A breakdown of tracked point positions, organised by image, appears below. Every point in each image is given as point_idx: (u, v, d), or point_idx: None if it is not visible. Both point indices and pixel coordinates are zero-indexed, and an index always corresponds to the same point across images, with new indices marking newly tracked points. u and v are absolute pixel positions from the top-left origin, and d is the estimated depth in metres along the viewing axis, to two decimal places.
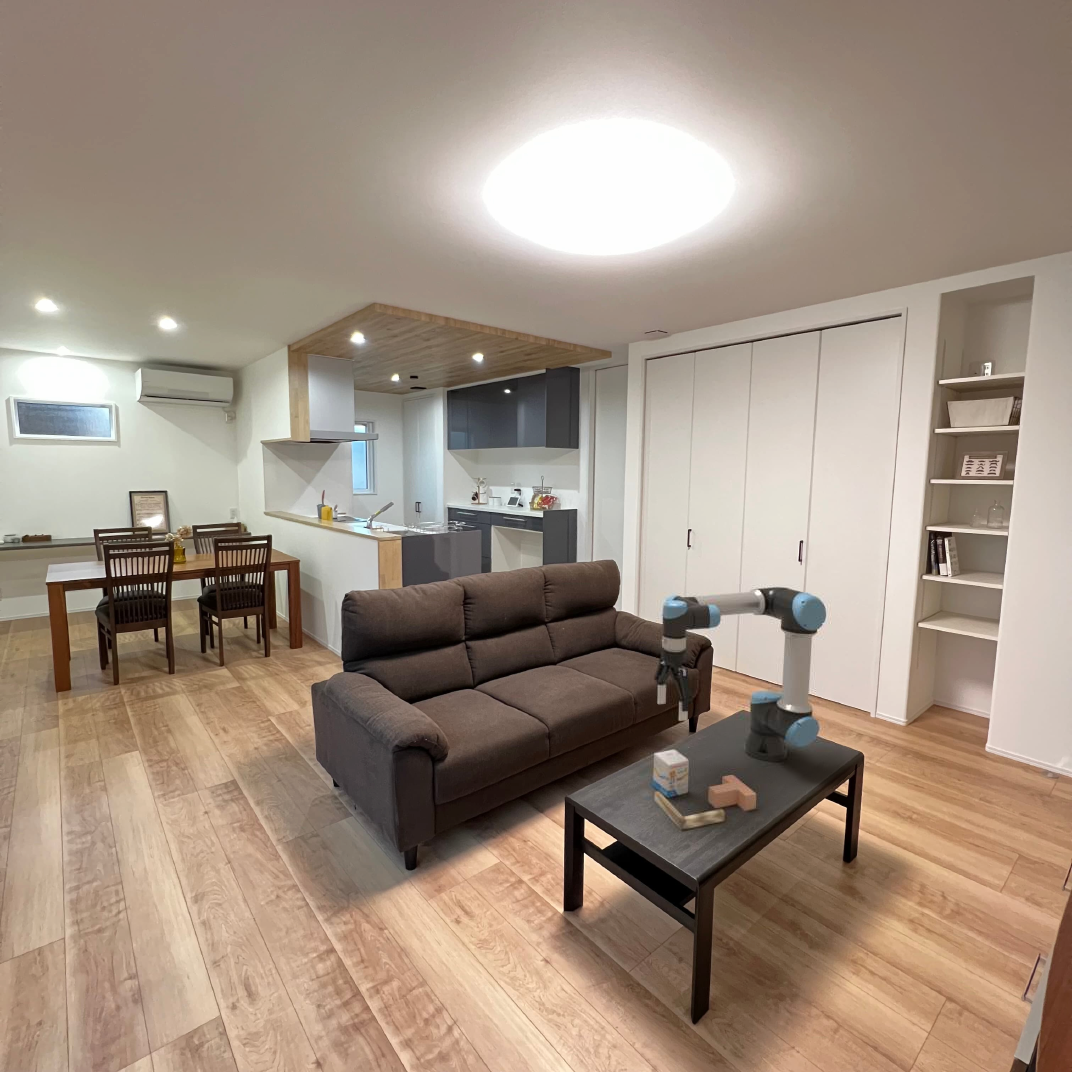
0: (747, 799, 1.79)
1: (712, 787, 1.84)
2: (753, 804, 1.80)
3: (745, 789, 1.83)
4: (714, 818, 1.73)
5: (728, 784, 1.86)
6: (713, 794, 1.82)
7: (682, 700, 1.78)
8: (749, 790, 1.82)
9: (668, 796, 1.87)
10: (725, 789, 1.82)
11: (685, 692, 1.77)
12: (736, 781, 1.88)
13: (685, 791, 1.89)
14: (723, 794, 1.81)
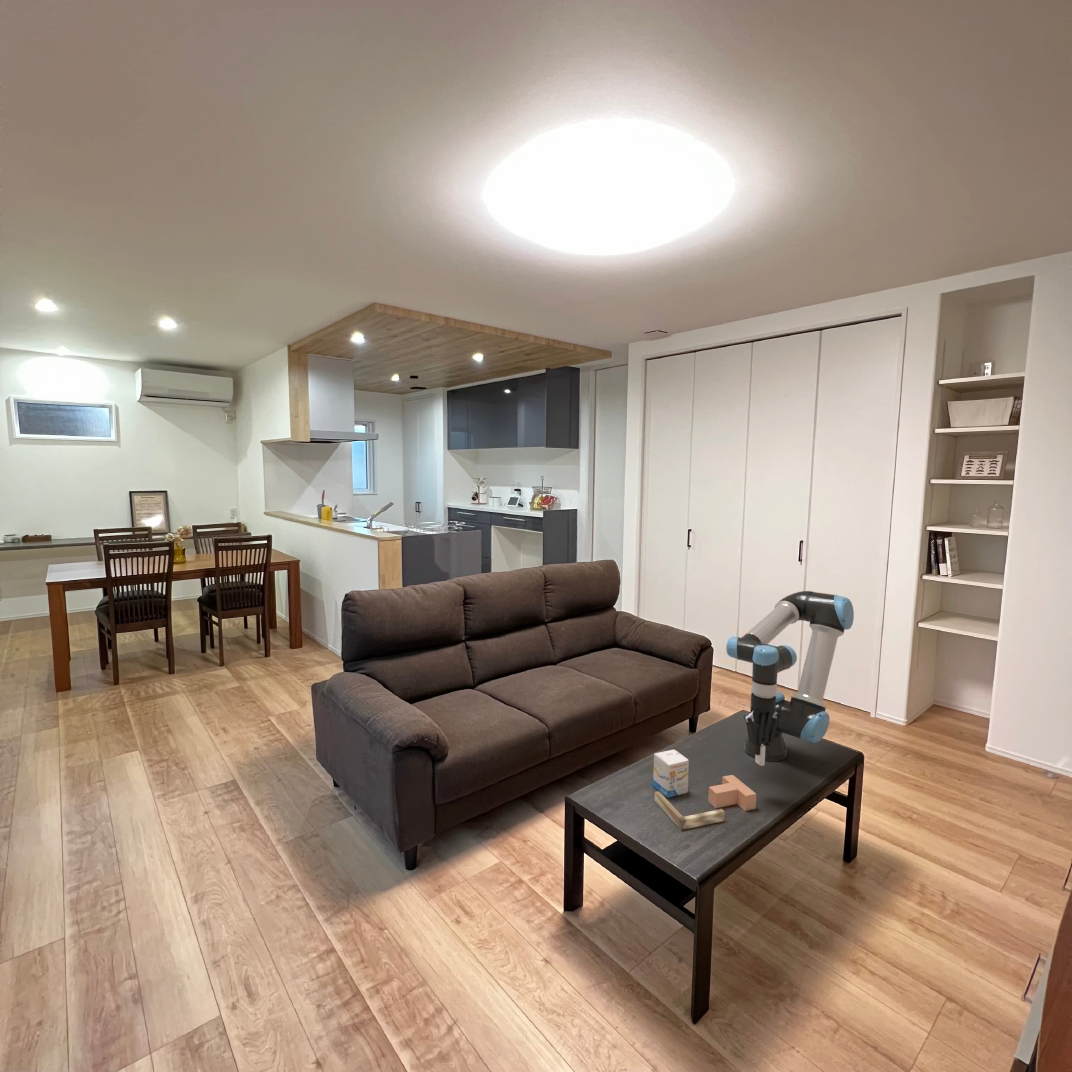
0: (747, 799, 1.79)
1: (712, 787, 1.84)
2: (753, 804, 1.80)
3: (745, 789, 1.83)
4: (714, 818, 1.73)
5: (728, 784, 1.86)
6: (713, 794, 1.82)
7: None
8: (749, 790, 1.82)
9: (668, 796, 1.87)
10: (725, 789, 1.83)
11: (748, 735, 1.85)
12: (736, 781, 1.88)
13: (685, 791, 1.89)
14: (723, 794, 1.81)
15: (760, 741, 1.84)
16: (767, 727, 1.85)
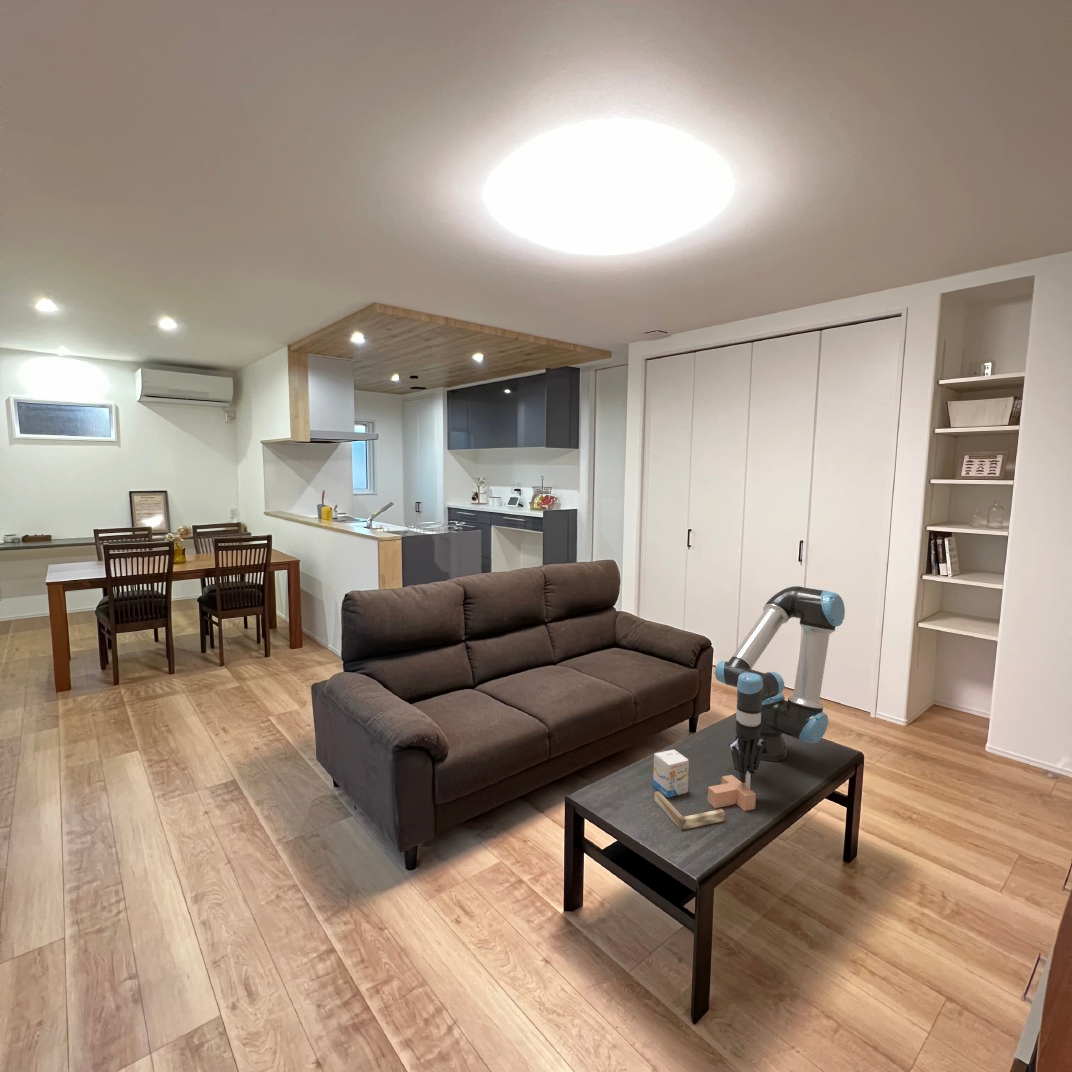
0: (746, 799, 1.79)
1: (712, 787, 1.84)
2: (752, 804, 1.80)
3: (745, 789, 1.83)
4: (714, 818, 1.73)
5: (727, 784, 1.86)
6: (713, 795, 1.82)
7: None
8: (748, 790, 1.82)
9: (668, 796, 1.87)
10: (724, 790, 1.82)
11: (734, 763, 1.85)
12: (735, 781, 1.87)
13: (685, 791, 1.89)
14: (722, 794, 1.81)
15: (745, 769, 1.84)
16: (752, 755, 1.84)
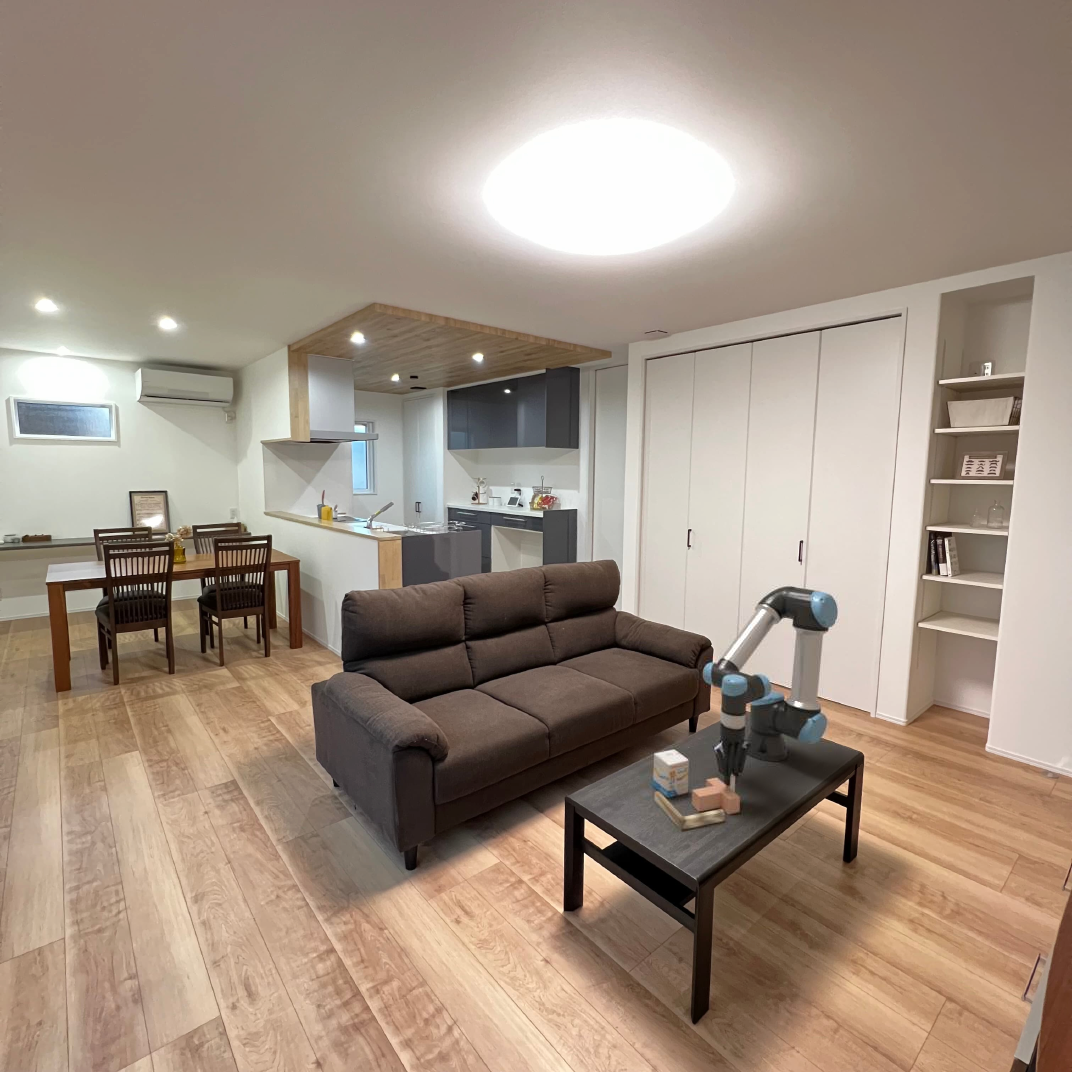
0: (731, 803, 1.78)
1: (696, 790, 1.82)
2: (737, 807, 1.79)
3: (729, 792, 1.81)
4: (714, 818, 1.73)
5: (712, 787, 1.84)
6: (697, 798, 1.80)
7: None
8: (733, 793, 1.80)
9: (668, 796, 1.87)
10: (708, 793, 1.81)
11: (718, 765, 1.83)
12: (720, 784, 1.86)
13: (685, 791, 1.89)
14: (706, 797, 1.80)
15: (730, 772, 1.82)
16: (737, 757, 1.82)
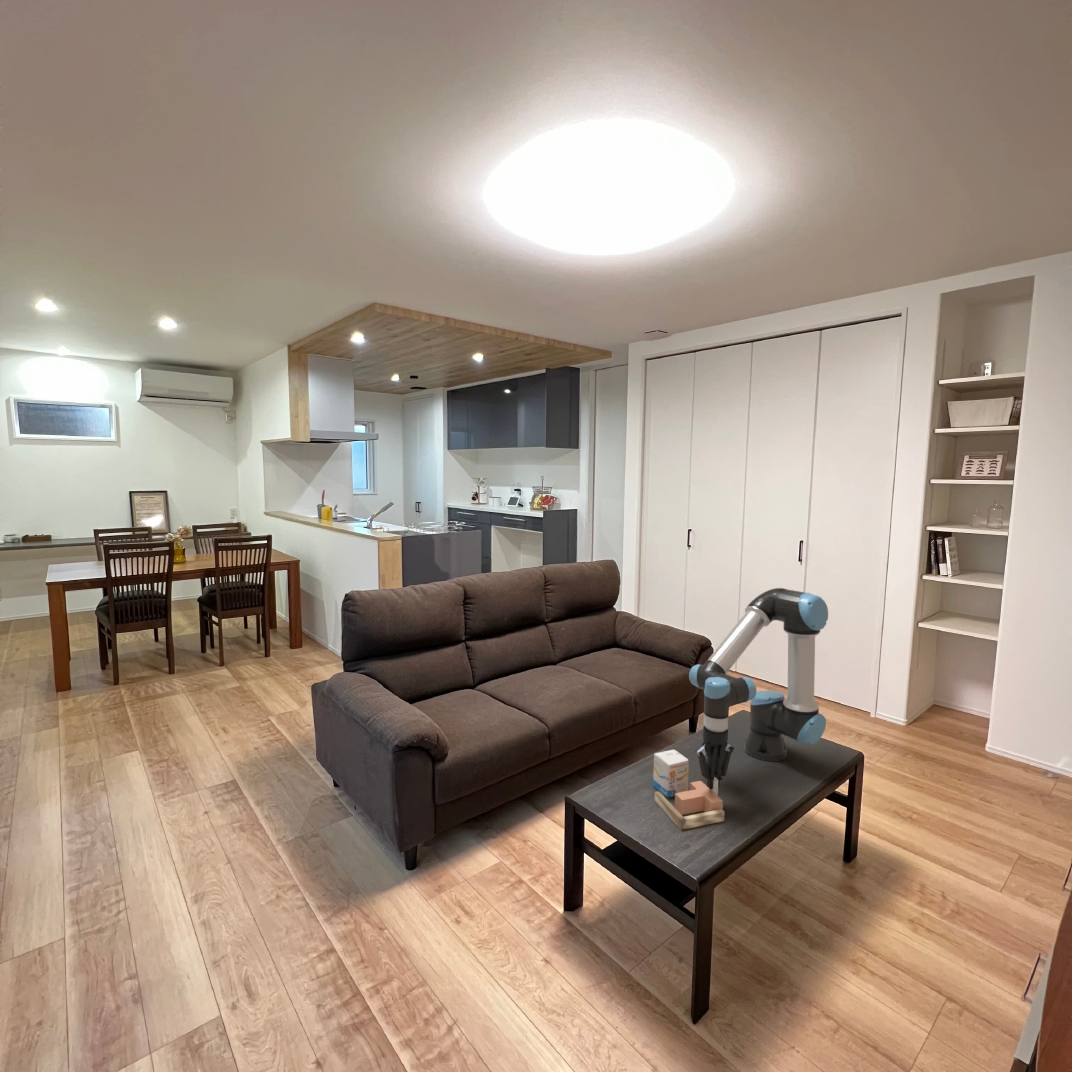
0: (713, 806, 1.76)
1: (679, 793, 1.80)
2: None
3: (712, 795, 1.79)
4: (714, 818, 1.73)
5: (695, 790, 1.82)
6: (679, 801, 1.78)
7: None
8: (716, 797, 1.78)
9: (668, 796, 1.87)
10: (691, 796, 1.79)
11: (701, 769, 1.81)
12: (703, 787, 1.84)
13: None
14: (689, 801, 1.78)
15: (712, 775, 1.80)
16: (720, 761, 1.81)
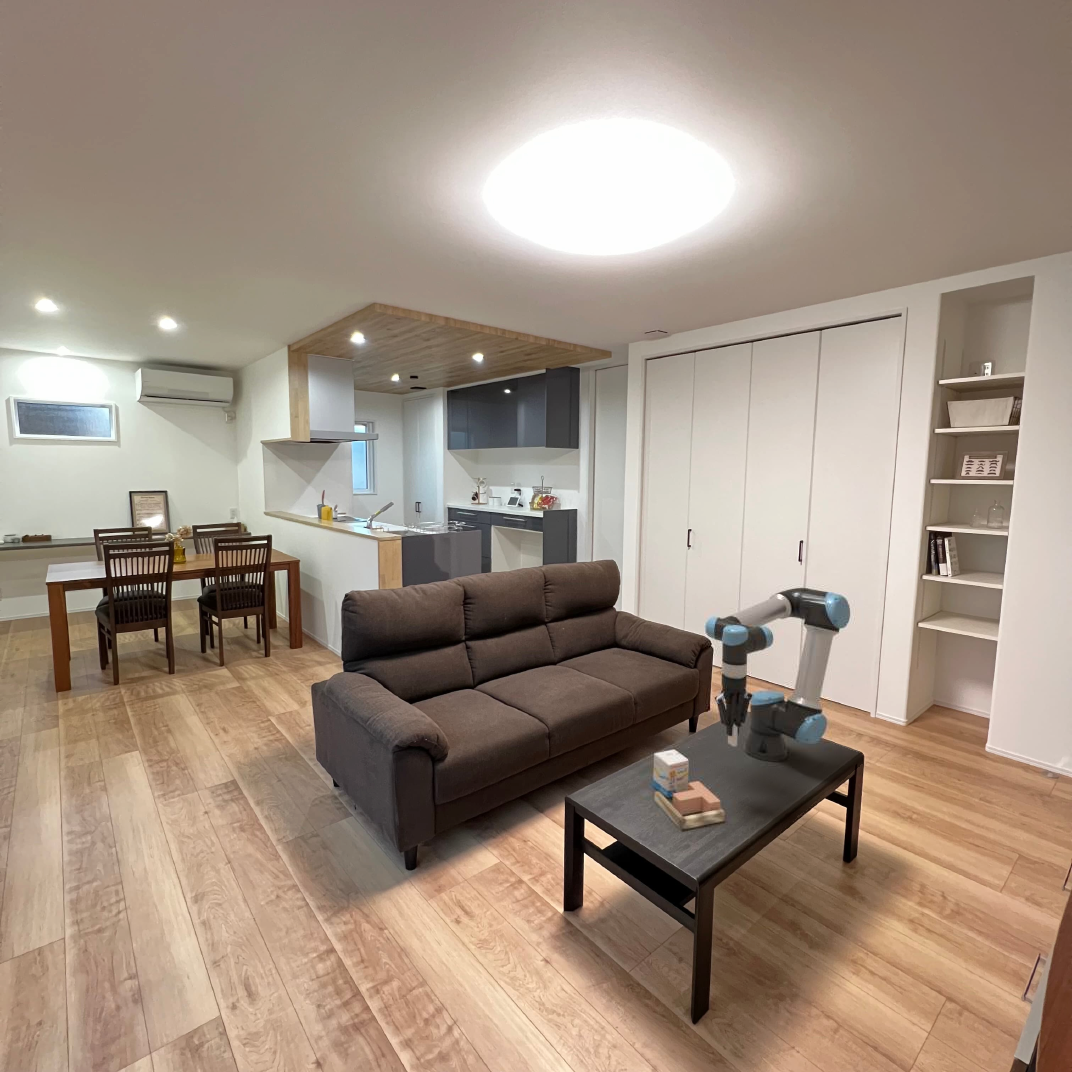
0: (711, 807, 1.76)
1: (677, 794, 1.80)
2: None
3: (710, 796, 1.79)
4: (714, 818, 1.73)
5: (693, 791, 1.82)
6: (677, 802, 1.78)
7: None
8: (714, 797, 1.78)
9: (668, 796, 1.87)
10: (689, 796, 1.79)
11: (720, 716, 1.83)
12: (701, 788, 1.84)
13: None
14: (687, 801, 1.77)
15: (732, 722, 1.82)
16: (739, 707, 1.83)
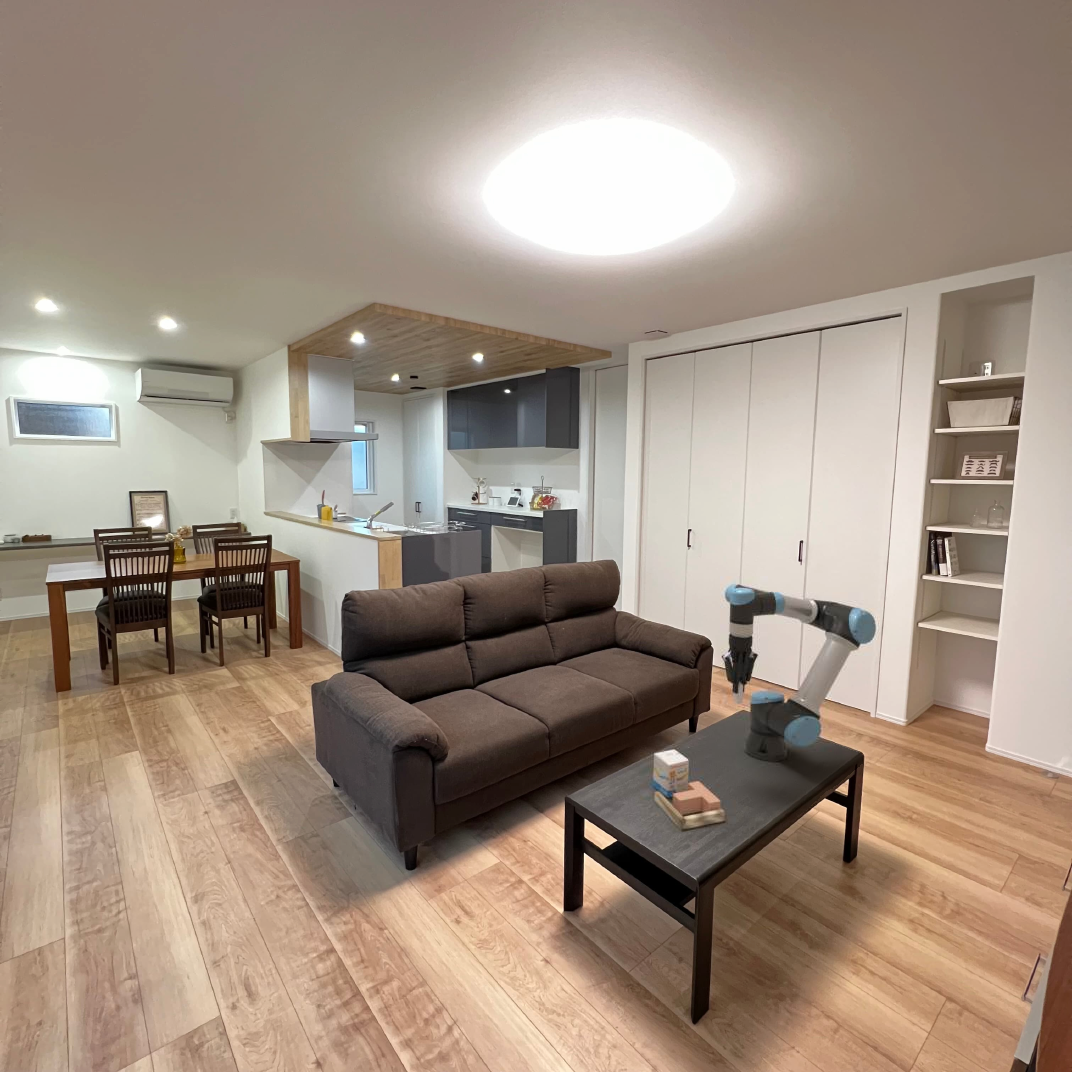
0: (711, 807, 1.76)
1: (677, 794, 1.80)
2: None
3: (710, 796, 1.79)
4: (714, 818, 1.73)
5: (693, 791, 1.82)
6: (677, 802, 1.78)
7: None
8: (714, 797, 1.78)
9: (668, 796, 1.87)
10: (689, 796, 1.79)
11: (727, 674, 1.93)
12: (701, 788, 1.84)
13: None
14: (687, 801, 1.77)
15: (738, 679, 1.92)
16: (744, 666, 1.92)
